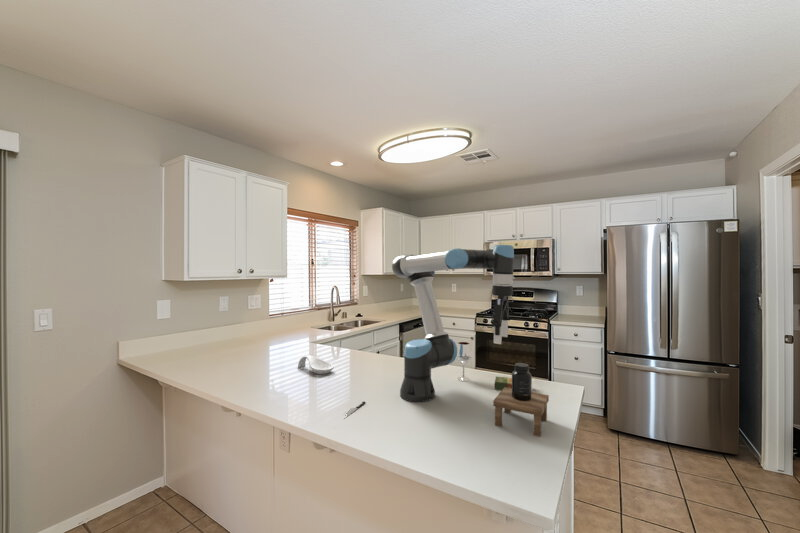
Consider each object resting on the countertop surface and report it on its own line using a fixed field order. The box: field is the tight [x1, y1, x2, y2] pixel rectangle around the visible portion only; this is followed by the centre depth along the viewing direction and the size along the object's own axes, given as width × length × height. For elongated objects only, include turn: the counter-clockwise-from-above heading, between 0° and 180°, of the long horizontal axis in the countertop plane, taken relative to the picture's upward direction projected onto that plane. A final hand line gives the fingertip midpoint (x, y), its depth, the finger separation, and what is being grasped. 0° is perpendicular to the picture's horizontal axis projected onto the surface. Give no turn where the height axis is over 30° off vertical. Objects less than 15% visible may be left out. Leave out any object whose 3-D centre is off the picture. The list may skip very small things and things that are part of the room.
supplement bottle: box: [511, 362, 533, 401], centre depth 125 cm, size 7×7×12 cm
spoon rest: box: [297, 354, 335, 375], centre depth 185 cm, size 24×12×7 cm, turn 54°
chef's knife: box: [345, 401, 366, 417], centre depth 134 cm, size 19×1×3 cm
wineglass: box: [455, 341, 473, 382], centre depth 173 cm, size 8×8×18 cm
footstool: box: [492, 387, 550, 437], centre depth 125 cm, size 16×16×9 cm
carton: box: [494, 375, 512, 391], centre depth 160 cm, size 8×16×4 cm, turn 71°
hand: (500, 340), depth 133 cm, fingers open, 13 cm apart
